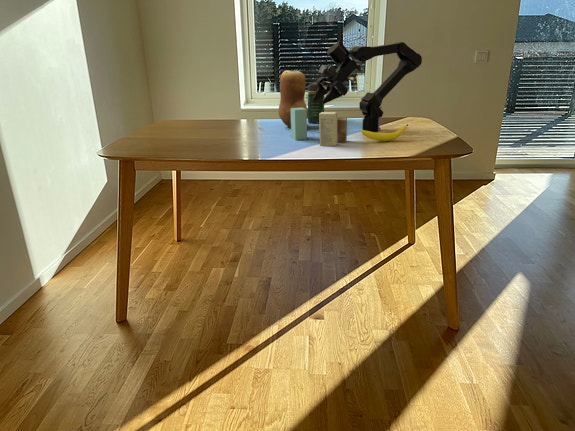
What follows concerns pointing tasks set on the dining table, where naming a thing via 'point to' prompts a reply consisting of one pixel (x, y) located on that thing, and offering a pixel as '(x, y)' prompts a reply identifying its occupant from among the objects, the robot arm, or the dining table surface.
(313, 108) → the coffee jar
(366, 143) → the dining table surface
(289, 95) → the butternut squash
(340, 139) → the walnut block
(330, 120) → the skincare box
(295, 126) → the teal block
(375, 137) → the banana
